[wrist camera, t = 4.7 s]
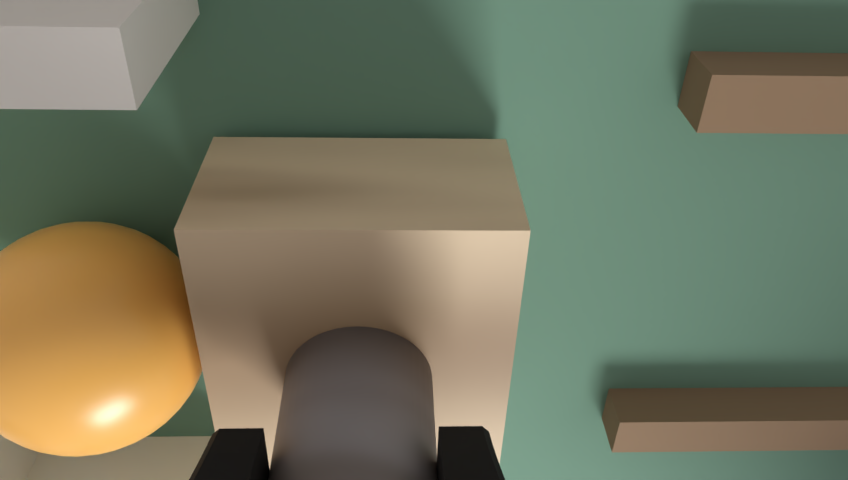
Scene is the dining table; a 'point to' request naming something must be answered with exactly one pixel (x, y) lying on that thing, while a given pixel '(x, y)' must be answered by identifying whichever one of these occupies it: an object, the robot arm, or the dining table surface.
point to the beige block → (355, 296)
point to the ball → (92, 339)
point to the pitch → (550, 200)
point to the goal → (92, 90)
